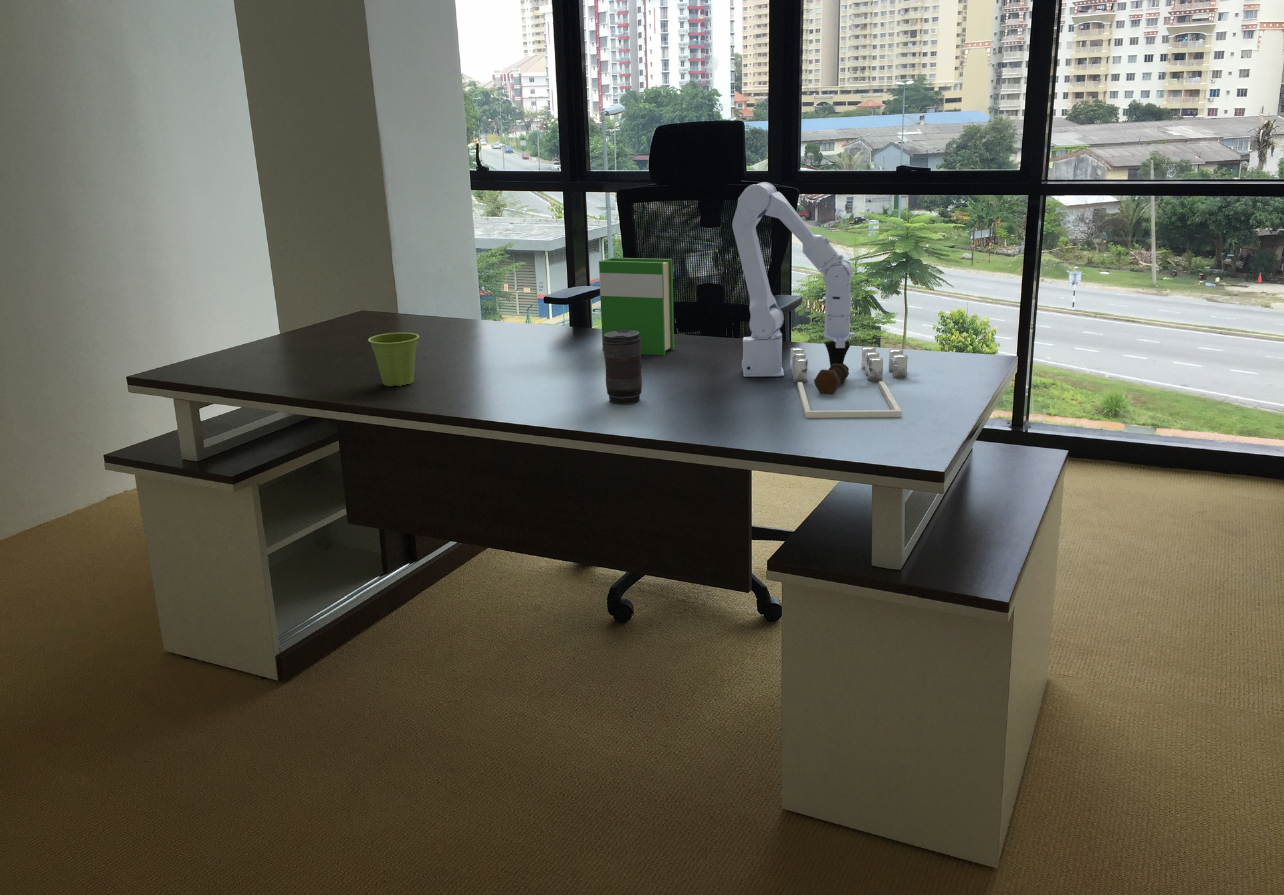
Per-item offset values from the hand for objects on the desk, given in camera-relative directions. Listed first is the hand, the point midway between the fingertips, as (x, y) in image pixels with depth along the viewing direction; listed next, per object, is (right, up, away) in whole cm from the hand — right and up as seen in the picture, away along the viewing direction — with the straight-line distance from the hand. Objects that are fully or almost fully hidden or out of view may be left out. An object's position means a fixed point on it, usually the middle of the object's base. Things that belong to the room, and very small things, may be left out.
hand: (836, 372), depth 239 cm
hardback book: (-46, +8, +35) cm, 59 cm away
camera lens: (-49, -7, -14) cm, 52 cm away
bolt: (-2, -4, -8) cm, 9 cm away
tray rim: (-2, -8, -20) cm, 22 cm away
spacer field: (+3, 0, +2) cm, 4 cm away
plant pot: (-104, -2, +7) cm, 104 cm away
